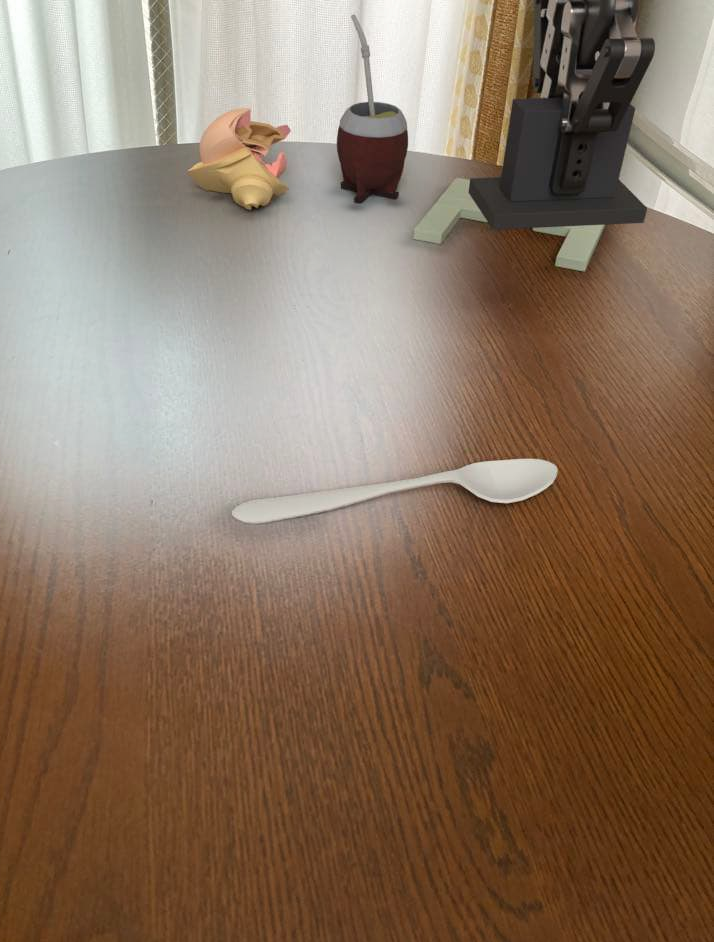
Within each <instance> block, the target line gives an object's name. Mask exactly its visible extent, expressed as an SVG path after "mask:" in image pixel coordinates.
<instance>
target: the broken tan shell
mask: <svg viewBox="0 0 714 942" xmlns="http://www.w3.org/2000/svg"><path fill="white" fill-rule="evenodd" d="M251 112H252V109H251V108H250V107H249V108H248V107H241V108H234V109H231V110H228V111H226V112H224V113H222V114H220V115H219V116H218V117H216V118H215V119H214V120H213V121H211V122H210V124H209V125H208V126H207V127H206V129H205V130H204V132H203V133H202V135H201V137H200V142H199V156H200V160H201V161H199V162H197V163H195V164H194V165H193V166H192V167H191V168H189V169H188V170H187V172H188V173H189V176H190V177H191V178H192V180H193V181H194V182H195V183H196V184H197V185H198V187H200V188H201V189H202V190H204V191H212V192H217V193H224V194H231V195H232V198H233V201H234V202H235V203H236V204H237V205H239V206H241V207H243V208H244V209H246V210H249V211H250V210H252V207H255V208H256V209H258V207H259V206H262V207H265V206H267V205H268V204H269V203H270V201H271V200H272V197H273V195H275V196H277V197H278V196H281V195H283V194H285V193H286V192H287V191H289V187H288V186H286V184H285V183H284V182H282V181H281V180H280V179H279V178H280V177H281V176H282V175H283V174H284V172H285V171H286V170H287V169H286V168H287V166H288V165H287V164H288V161H287V160H288V159H287V157H286V154H285V153H284V152H283V151H282V152H279V154H278V156H277V159H276V160H275V161H272V164H270V163H265V162H264V161H263V159H262V158H261V156H262V157H264V158H265V157H266V156H267V154H268V152H269V149H270V147H271V146H272V145H274V144H277V143H279V142H281V141H284V140H285V139H286V138H287V137H288V135H290V133H291V132H292V130H291V128H290V127H289V126H288V124H282V125H278V126H273V125H272V124H270V123H266V122H265V123H264V122H259V121H253V120H251Z"/></svg>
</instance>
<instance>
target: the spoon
mask: <svg viewBox="0 0 714 942" xmlns="http://www.w3.org/2000/svg"><path fill="white" fill-rule="evenodd" d="M558 472H559V468H558V467H557V465H555V463H552V462H550V461H548V460H545V459H540V458H516V459H502V460H501V459H500V460H499V459H498V460H485V461H479V462H474V463H470V464H467V465H465V466H463V467H460V468H457V469H452V470H447V471H442V472H437V473H433V474H429V475H424V476H420V477H416V478H409V479H402V480H397V481H390V482H382V483H375V484H367V485H359V486H353V487H345V488H338V489H331V490H323V491H316V492H315V491H314V492H308V493H299V494H292V495H284V496H277V497H266V498H257V499H253V500H248V501H244V502H241V503H240V504H238V505H236V506H235V507H234V509H232V511H231V516H232V517H233V519H235V520H236V521H238V522H241V523H244V524H251V525H256V524H257V525H258V524H266V523H273V522H277V521H282V520H283V521H284V520H288V519H293V518H298V517H304V516H309V515H315V514H318V513H324V512H328V511H331V510H335V509H339V508H342V507H343V508H344V507H346V506H350V505H353V504H354V505H355V504H357V503H362V502H364V501H369V500H371V499H374V498H378V497H381V496H384V495H387V494H392V493H397V492H402V491H406V490H411V489H416V488H421V487H427V486H431V485H436V484H446V483H453V484H457V485H460V486H462V487H463V488H465V489H466V490H467V491H469V492H471V493H472V494H473V495H474V496H476V497H478V498H480V499H483V500H485V501H488V502H490V503H500V504H510V503H516V502H521V501H524V500H526V499H529V498H531V497H534V496H537V495H538V494H539V493H542V492H543V491H545V490H546V489H547V488H548V487H550V486H551V485H552V484H553V483H554V482H555V480H556V478H557V476H558Z"/></svg>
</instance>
